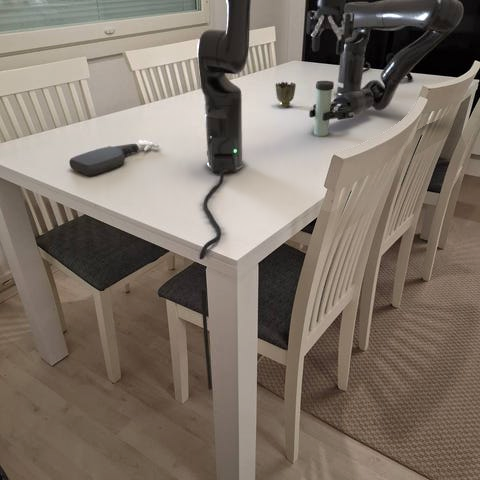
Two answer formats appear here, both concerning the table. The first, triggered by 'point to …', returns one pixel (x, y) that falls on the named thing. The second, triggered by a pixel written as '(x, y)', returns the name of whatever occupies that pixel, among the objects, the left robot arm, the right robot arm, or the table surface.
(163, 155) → the table surface
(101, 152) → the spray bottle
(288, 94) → the cup
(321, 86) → the lid
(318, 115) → the jar
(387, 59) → the squiggle
